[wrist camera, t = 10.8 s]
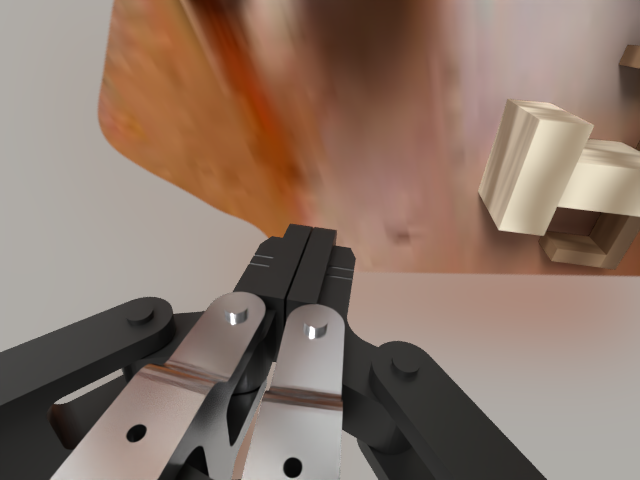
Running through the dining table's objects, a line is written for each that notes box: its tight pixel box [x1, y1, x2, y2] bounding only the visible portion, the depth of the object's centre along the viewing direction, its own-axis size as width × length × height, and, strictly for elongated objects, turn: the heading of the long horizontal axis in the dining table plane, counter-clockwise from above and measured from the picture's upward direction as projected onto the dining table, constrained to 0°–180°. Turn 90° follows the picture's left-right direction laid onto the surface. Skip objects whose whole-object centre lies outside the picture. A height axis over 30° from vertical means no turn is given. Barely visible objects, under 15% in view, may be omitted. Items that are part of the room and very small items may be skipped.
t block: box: [478, 99, 640, 236], centre depth 34 cm, size 12×10×9 cm
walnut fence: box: [539, 45, 640, 269], centre depth 36 cm, size 7×21×4 cm, turn 176°
